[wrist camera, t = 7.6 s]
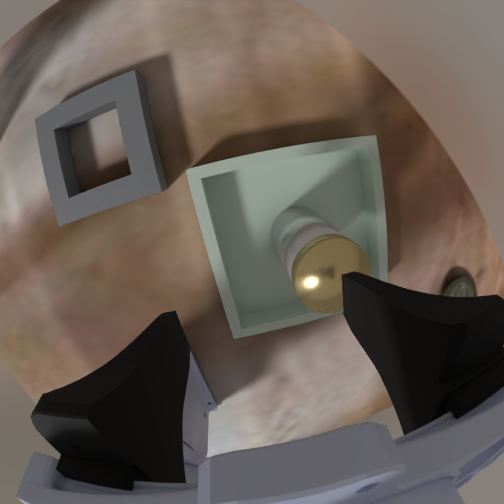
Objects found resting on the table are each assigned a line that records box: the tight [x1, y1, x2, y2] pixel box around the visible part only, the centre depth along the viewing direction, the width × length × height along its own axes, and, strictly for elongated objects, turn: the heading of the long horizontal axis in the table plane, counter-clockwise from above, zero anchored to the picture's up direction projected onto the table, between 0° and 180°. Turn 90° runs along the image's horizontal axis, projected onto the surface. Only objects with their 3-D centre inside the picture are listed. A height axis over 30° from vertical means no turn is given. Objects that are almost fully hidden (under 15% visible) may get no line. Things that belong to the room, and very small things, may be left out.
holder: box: [35, 70, 168, 227], centre depth 17 cm, size 9×9×2 cm
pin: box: [271, 206, 371, 314], centre depth 17 cm, size 4×4×8 cm
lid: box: [441, 276, 475, 297], centre depth 24 cm, size 11×10×5 cm
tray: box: [186, 135, 388, 339], centre depth 20 cm, size 13×13×2 cm
